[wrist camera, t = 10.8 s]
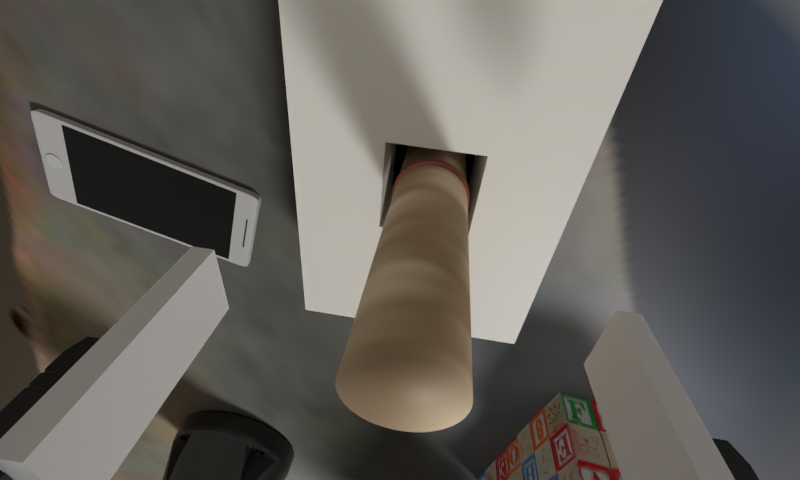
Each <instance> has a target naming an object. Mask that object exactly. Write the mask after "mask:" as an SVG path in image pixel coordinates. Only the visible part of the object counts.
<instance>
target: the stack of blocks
mask: <svg viewBox="0 0 800 480" xmlns="http://www.w3.org/2000/svg"><path fill="white" fill-rule="evenodd" d="M477 480H622V477H621V474H620V471H619V468H618V465H617V462H616V459H615V456H614V453H613V450H612V447H611V444H610V441H609V438H608V435H607V432H606V429H605V427H604V424H603V421H602V418H601V415H600V412H599V409H598V406H597V403H596V402H595V401H590V400H586V399H583V398H579V397H575V396H572V395H568V394H565V393H561V392H559V393H558V394H557V395H556V396H555V397H554V398H553V399H552V400H551V401H550V402H549V403H548V404H547V405H546V406H545V408H543V409H542V410H541V411H540V412H539V413H538V414H537V415H536V416H535V417H534V418H533V419H532V420H531V421H530V423H528V424H527V425H526V426H525V427H524V428H523V429H522V430H521V432H520V433H519V434H518V435H517V437H516V438H515V440H514V441H513V442H512V443H511V444H510V445H509V446H508V447H507V449H506V450H505V451H504V452H503V453H502V454H501V455H500V456H499V457H498V458H497V460H494V461H493V463H492V464H491V465H490V466H489V467H488V468H487V469H486V470H485V471H484V472H483V473H482V474H481V475H480V476H479V478H478V479H477Z"/></svg>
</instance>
